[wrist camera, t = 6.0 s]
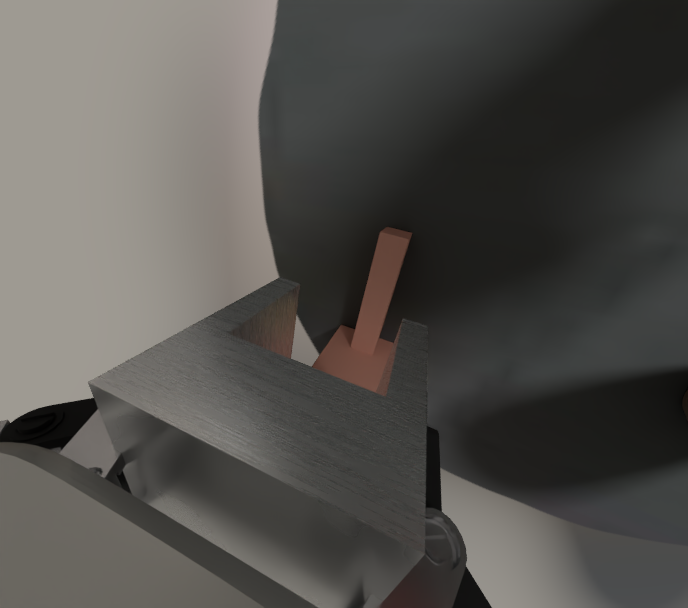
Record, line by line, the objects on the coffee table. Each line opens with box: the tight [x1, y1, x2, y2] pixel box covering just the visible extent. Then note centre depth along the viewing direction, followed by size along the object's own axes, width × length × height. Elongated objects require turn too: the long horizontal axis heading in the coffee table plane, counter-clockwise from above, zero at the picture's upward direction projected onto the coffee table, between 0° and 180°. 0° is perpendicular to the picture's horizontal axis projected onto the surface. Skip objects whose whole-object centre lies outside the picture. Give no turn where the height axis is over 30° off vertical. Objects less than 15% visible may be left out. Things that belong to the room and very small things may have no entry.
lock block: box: [88, 277, 428, 608], centre depth 9 cm, size 7×7×7 cm
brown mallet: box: [312, 227, 412, 393], centre depth 21 cm, size 17×7×12 cm, turn 168°
